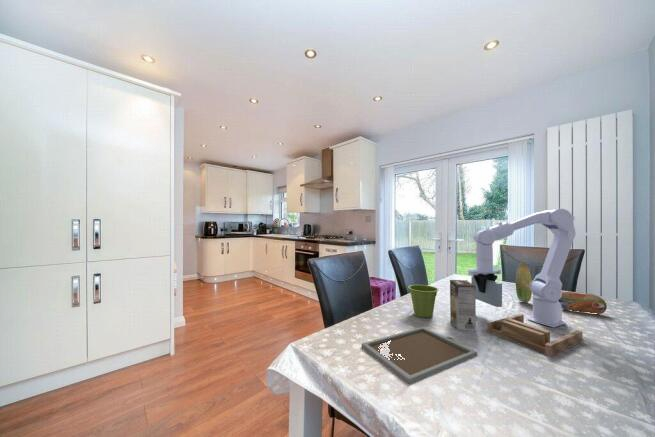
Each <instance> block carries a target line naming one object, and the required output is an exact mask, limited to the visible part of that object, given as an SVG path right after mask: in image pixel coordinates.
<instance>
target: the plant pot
mask: <svg viewBox="0 0 655 437" xmlns="http://www.w3.org/2000/svg"><path fill="white" fill-rule="evenodd" d="M407 288H408V289H409V293H410V296H411V301H412V307H413V313H414V315H415V316H416V317H419V318H432V317H433V316H434V311H435V310H434V309H435V303H436V297H437V294H438V292H439V288H438V287H435V286H432V285H427V284H426V285H425V284H410V285H408V287H407Z"/></svg>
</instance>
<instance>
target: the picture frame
mask: <svg viewBox="0 0 655 437" xmlns="http://www.w3.org/2000/svg"><path fill="white" fill-rule="evenodd" d="M390 340H391V342H390V344H389V345H388V344H387V345H388V346H389V347H388V348H389V349H390V352H389V354H392V353H393V356H392V355H390V356H391V357H392V358H391V357H389V356H388V357H389V358H390V360H388V358H386V357H384V356H385V355H384V356H383V355H382V354H380V349H381V348H382V347H381V348H380V347H379V346H380V344H381V345H383V344H382V343H385V342H386V343H387V342H388V341H390ZM378 347H379V348H380V349H379V348H378ZM361 348H362V349H363V348H364V349H363V350H364V351H366V352H367V353H368V354H370V355H371V356H372V357H373V358H374V359H376V360H377V359H378V360H377V361H379V362H380V363H381V362H382V363H381V364H382V365H384V366H385V365H386V366H387V368H388V369H389V368H390V369H391V370H390V369H389V370H390V371H391V372H393V373H394V374H395V373H396V374H395V375H396V376H398V377H399V376H400V377H399V378H401V379H402V380H403V379H404V380H405V381H404V380H403V381H404V382H406V383H407V384H408V383H409V385H410V384H413V383H415V382H417V381H419V380H421V379H424V378H426V377H429V376H432V375H433V374H436V373H438V372H441V371H444V370H446V369H449V368H450V367H452V366H455V365H457V364H460V363H462V362H465V361H467V360H470V359H472V358H473V357H476V356H478V351H477V350H474V349H472V348H470V347H468V346H466V345H464V344H462V343H460V342H458V341H456V339H455V338H454V337H452V336H446V335H442V334H440V333H437V332H436V331H433V330H432V329H430V328H427V327H426V326H420V327H417V328H414V329H410V330H407V331H403V332H399V333H396V334H390V335H387V336H384V337H381V338H378V339H373V340H370V341H366V342H362V343H361ZM384 348H385V347H384ZM378 350H379V351H378ZM395 354H397V356H398V354H401V356H402V357H403V358H405V360H404V359H402V357H400V356H398V357H399V358H400V359H402V360H400V359H398V357H397V356H396V355H395ZM394 359H395V360H394ZM397 359H398V360H397ZM386 366H385V367H386Z"/></svg>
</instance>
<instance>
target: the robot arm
mask: <svg viewBox="0 0 655 437" xmlns="http://www.w3.org/2000/svg"><path fill="white" fill-rule="evenodd" d="M575 218H576V217H575V216H574V215H573V214H572V213H571V212H570V211H569V210H568V209H565V208H555V209H546V210H542V211H539V212H534V213H532V214H529V215H527V216H523V217H521V218H519V219H517V220H515V221H512V222H505V221H504V222H502V221H499V222H497V224H496V225H493V226H491V227H485V229H484V230H482V229H481V230H478V231H477V232H476V233H475V235H474V236H473V239H474V241H475V242H476V248H475V250H476V257H475V258H476V268H474V269H468V276H470V277H474V279H475V281H476V283H477V285H478V289H479V292H482V293H485V288H486V281H487V279H488V280H491V281H495V282H496V281H497V280H498V275H501V274H502V269H500V268H494V249H493V248H494V247H493V245H494V243H495V241H499V240H502V239H505V238H507V237H510V236H512V235H514V232H515V231H517V230H520V229H523V228H526V227H529V226H533V225H537V224H538V225H540V224H541V225H542V226H544V227H546V228H547V229H548V230H549V231H551V233H552V234H553V236H554V237H553V238H552V241H551V244H550V246H549V249H548V252H547V255H546V257H545V260H544V262H543V265H542V268H541V271H540V272H539V273H538V274H536V275H535V277H534V279H533V280H532V281H531V282H530V284H529V289H530V290H531V292H532V317H529V318H528V321H531V322H534V323H536V324H540V325H544V326H548V327H551V328H556V327H558V326H561V325H564V324H566V321H563V310H562V309H563V308H562V306H561V304H560V302H559V301H558V300H559V299H560V298H561V296H562V292H563V291H562V288H563V283H562V281H561V279H560V278H561V274H562V272H563V269H564V266H565V263H566V261H567V258H568V256H569V253H570V250H571V248H572V245H573V242H574V239H575V237H576V229H575V225H574V220H575Z"/></svg>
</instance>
